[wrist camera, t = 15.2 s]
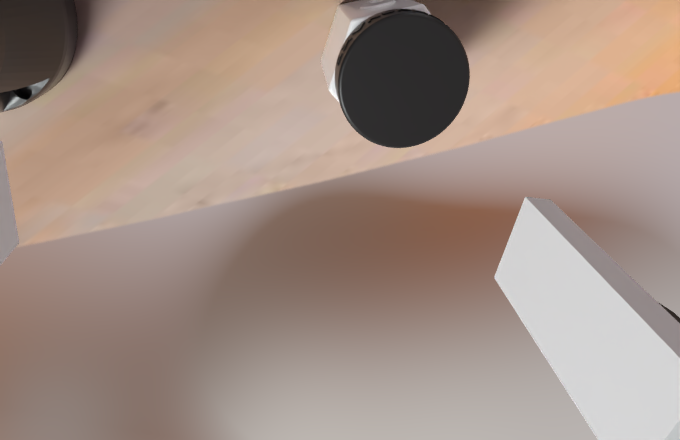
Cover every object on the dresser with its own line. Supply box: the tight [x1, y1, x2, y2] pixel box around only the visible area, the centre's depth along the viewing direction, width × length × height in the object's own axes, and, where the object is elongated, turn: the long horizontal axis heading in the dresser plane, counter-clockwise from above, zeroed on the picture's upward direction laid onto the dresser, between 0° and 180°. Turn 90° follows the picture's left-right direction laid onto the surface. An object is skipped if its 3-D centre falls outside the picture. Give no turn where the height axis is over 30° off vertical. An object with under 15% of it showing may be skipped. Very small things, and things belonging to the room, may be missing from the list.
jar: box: [321, 0, 470, 148], centre depth 35 cm, size 9×8×12 cm
